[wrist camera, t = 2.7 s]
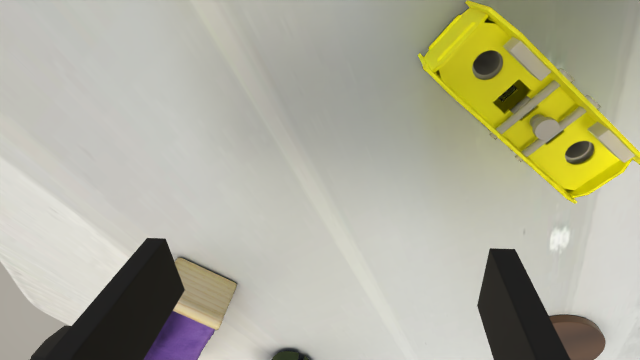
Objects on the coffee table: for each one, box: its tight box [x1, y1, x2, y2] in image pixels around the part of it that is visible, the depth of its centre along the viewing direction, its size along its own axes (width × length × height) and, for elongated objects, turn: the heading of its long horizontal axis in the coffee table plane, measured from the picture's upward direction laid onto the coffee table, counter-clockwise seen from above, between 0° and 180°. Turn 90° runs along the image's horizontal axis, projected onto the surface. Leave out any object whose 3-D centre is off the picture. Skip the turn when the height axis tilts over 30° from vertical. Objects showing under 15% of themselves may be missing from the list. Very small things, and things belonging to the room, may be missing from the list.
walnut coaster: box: [549, 315, 605, 360], centre depth 42 cm, size 9×9×1 cm
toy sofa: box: [144, 258, 237, 360], centre depth 45 cm, size 21×9×10 cm, turn 152°
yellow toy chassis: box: [418, 0, 640, 204], centre depth 25 cm, size 16×6×8 cm, turn 53°
